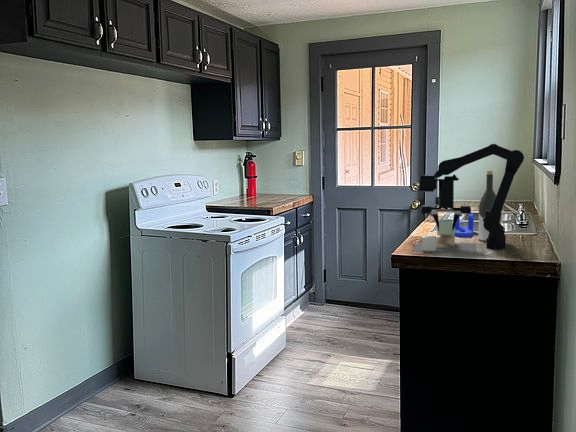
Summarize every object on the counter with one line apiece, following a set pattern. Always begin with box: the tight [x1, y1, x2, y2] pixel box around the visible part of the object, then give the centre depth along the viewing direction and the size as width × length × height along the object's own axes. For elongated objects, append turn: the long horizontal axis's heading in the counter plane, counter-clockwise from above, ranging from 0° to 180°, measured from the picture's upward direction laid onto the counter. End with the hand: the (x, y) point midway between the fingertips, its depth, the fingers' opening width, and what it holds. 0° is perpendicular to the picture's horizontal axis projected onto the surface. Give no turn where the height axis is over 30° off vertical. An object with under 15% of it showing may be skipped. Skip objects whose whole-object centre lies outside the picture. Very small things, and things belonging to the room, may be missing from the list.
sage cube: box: [439, 219, 453, 234], centre depth 218 cm, size 5×5×5 cm
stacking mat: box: [413, 223, 478, 254], centre depth 216 cm, size 23×20×9 cm
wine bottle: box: [478, 170, 497, 243], centre depth 227 cm, size 8×8×30 cm
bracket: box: [455, 213, 475, 238], centre depth 251 cm, size 18×8×9 cm, turn 159°
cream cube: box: [421, 235, 437, 252], centre depth 212 cm, size 5×5×5 cm
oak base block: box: [436, 234, 456, 248], centre depth 218 cm, size 7×7×4 cm
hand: (445, 231), depth 218 cm, fingers closed on sage cube, 5 cm apart
